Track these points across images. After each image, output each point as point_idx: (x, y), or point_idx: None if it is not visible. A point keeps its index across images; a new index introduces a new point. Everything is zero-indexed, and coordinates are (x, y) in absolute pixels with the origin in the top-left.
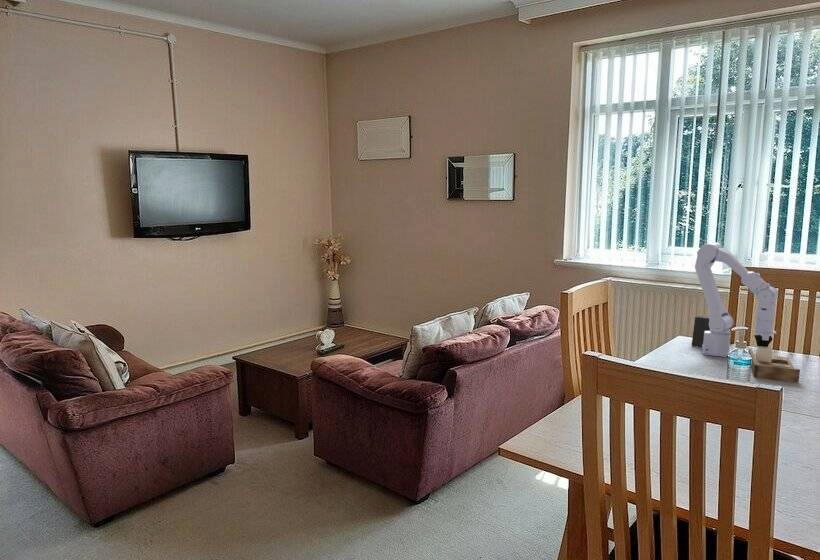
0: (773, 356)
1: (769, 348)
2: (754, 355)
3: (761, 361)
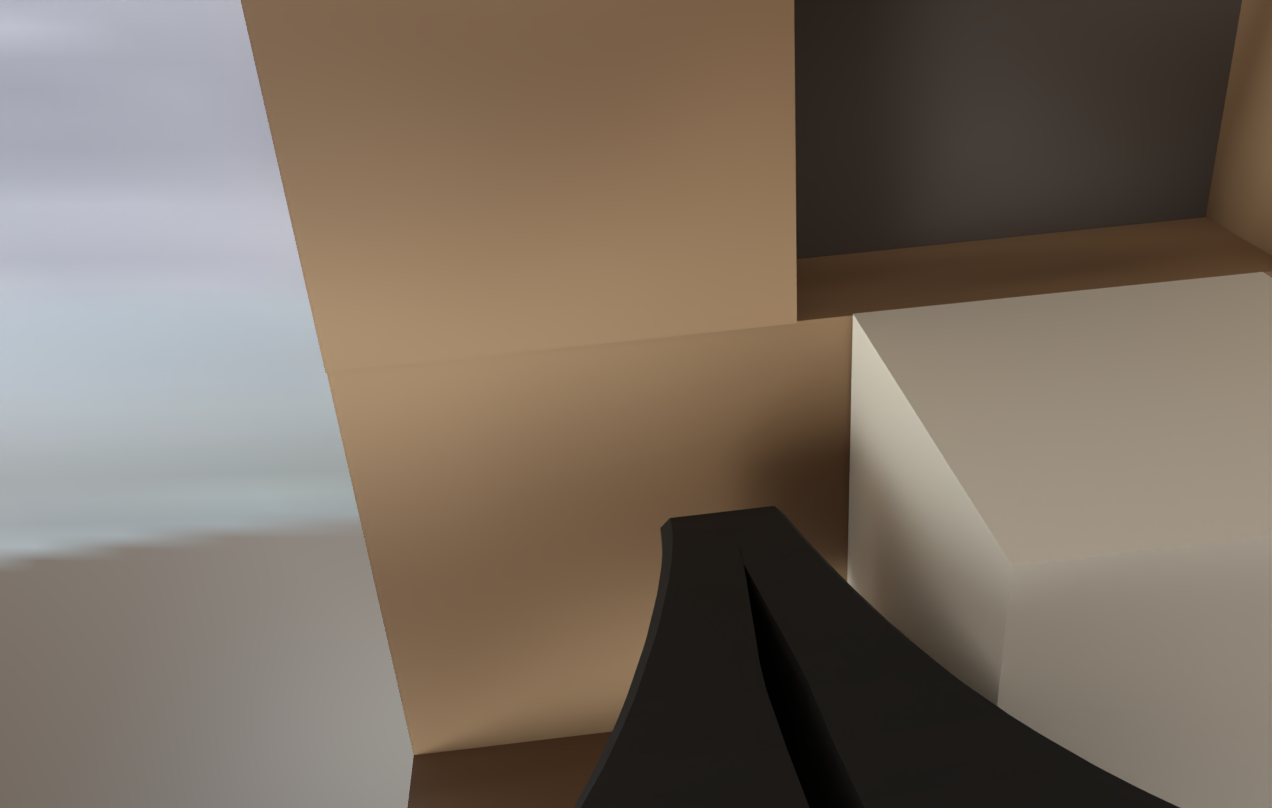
0: (412, 211)
1: (1266, 608)
2: (618, 680)
3: None
